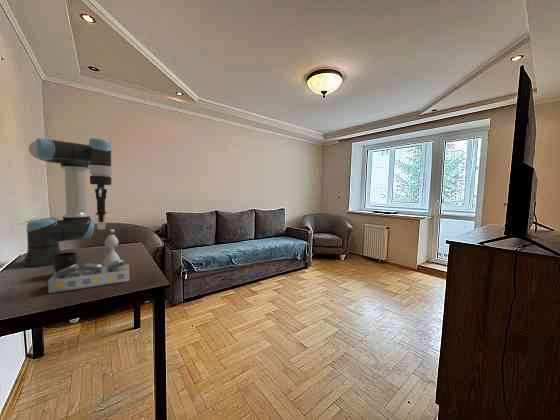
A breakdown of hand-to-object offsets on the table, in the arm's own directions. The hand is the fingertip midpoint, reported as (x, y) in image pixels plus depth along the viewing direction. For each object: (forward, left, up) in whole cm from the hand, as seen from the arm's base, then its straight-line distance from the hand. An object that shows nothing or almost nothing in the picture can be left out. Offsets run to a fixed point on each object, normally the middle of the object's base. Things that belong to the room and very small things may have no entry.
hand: (101, 228), depth 104 cm
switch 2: (+4, -3, -16) cm, 17 cm away
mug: (-12, -14, -23) cm, 29 cm away
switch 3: (+4, +5, -16) cm, 17 cm away
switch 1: (+4, -11, -16) cm, 20 cm away
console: (+4, -3, -23) cm, 23 cm away
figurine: (-15, +3, -23) cm, 27 cm away
